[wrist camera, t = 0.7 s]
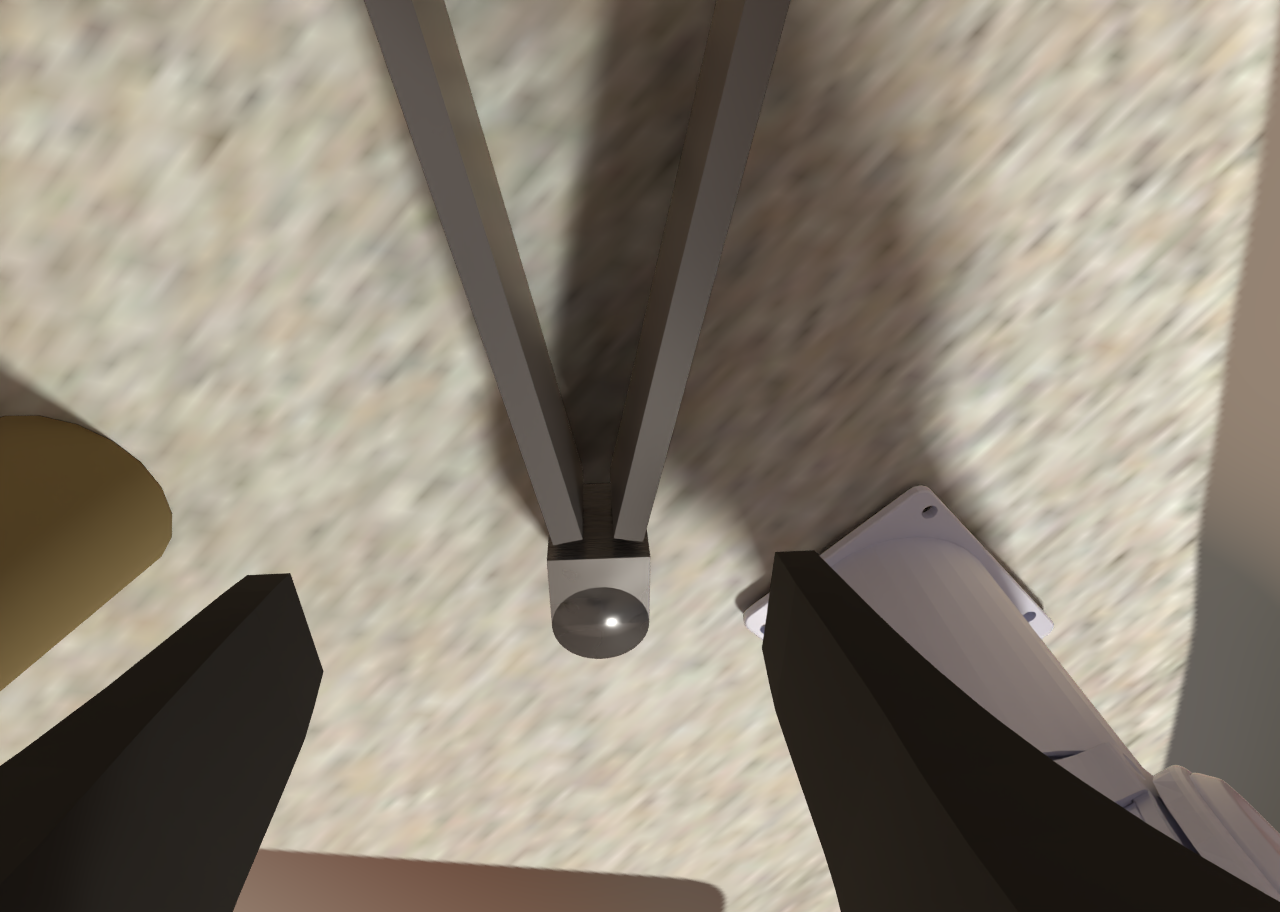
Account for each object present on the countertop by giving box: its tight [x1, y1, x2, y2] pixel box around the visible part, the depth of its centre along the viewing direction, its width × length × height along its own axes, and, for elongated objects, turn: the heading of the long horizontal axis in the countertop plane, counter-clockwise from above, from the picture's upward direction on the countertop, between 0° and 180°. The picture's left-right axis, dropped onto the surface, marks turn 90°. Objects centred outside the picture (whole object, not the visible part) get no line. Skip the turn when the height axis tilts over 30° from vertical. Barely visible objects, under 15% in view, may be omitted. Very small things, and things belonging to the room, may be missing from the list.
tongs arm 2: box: [364, 0, 583, 545], centre depth 15 cm, size 17×1×4 cm, turn 12°
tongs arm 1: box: [610, 0, 790, 542], centre depth 15 cm, size 17×1×4 cm, turn 168°
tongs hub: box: [547, 483, 650, 659], centre depth 21 cm, size 4×3×4 cm
